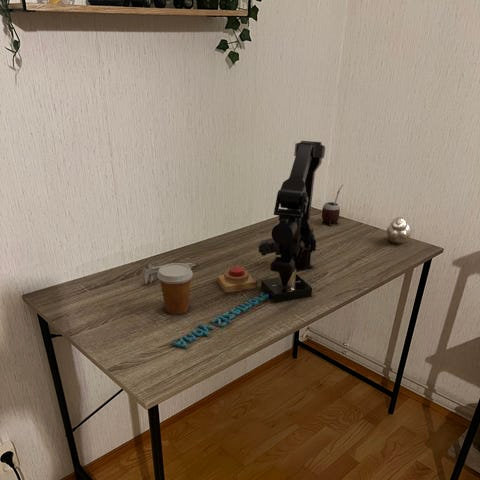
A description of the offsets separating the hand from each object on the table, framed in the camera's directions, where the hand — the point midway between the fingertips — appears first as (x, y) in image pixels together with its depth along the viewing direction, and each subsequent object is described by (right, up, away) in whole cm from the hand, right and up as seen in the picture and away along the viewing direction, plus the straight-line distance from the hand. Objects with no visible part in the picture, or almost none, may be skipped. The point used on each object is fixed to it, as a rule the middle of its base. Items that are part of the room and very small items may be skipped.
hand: (286, 282), depth 146 cm
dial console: (0, -3, +2) cm, 4 cm away
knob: (0, 0, 0) cm, 0 cm away
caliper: (-36, +3, +12) cm, 38 cm away
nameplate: (-18, -11, -12) cm, 24 cm away
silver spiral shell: (+45, +17, +38) cm, 61 cm away
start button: (-15, +3, +4) cm, 16 cm away
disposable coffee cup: (-31, -8, -7) cm, 33 cm away
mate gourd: (+23, +29, +56) cm, 67 cm away
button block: (-15, 0, +6) cm, 16 cm away
